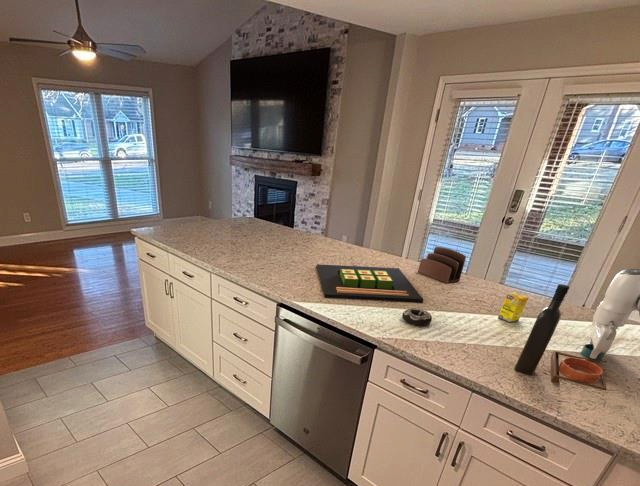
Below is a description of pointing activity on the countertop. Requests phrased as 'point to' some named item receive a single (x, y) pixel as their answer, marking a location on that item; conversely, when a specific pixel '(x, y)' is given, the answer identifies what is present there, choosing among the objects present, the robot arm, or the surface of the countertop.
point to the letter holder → (443, 265)
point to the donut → (417, 317)
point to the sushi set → (366, 283)
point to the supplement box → (512, 307)
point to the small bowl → (588, 349)
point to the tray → (556, 377)
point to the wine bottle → (541, 333)
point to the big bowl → (580, 364)
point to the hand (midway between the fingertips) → (591, 352)
